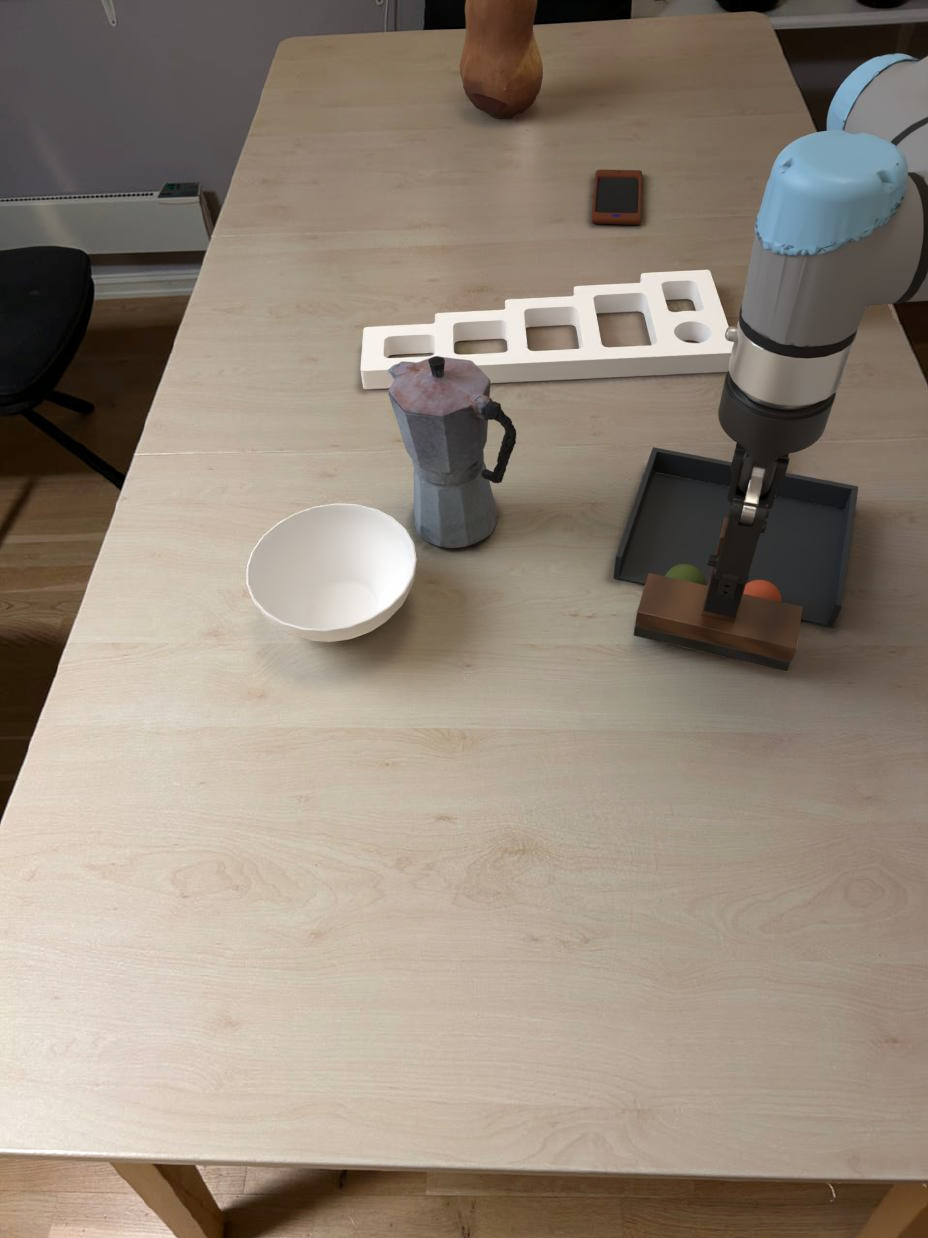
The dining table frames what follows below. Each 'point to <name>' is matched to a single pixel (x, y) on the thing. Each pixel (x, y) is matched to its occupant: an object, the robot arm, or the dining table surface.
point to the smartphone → (617, 197)
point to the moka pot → (450, 447)
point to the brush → (718, 621)
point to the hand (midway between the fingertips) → (723, 597)
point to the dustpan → (786, 553)
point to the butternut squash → (501, 56)
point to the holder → (580, 312)
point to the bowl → (332, 571)
